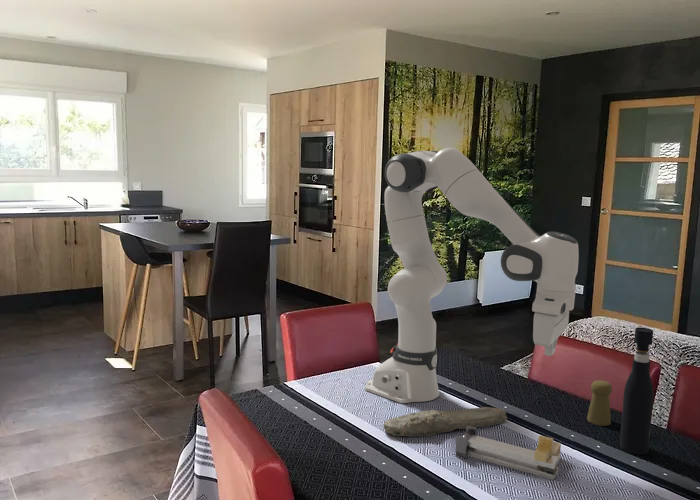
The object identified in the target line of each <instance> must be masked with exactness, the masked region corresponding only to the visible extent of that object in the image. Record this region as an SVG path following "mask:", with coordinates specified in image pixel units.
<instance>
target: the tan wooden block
mask: <svg viewBox="0 0 700 500" xmlns="http://www.w3.org/2000/svg"><path fill="white" fill-rule="evenodd" d="M561 446H562V443H561V442H558V441H554V440H553V452H552V455H553V456H557V457H559V459H560V458H561Z"/></svg>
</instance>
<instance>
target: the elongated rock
mask: <svg viewBox="0 0 700 500" xmlns="http://www.w3.org/2000/svg"><path fill="white" fill-rule="evenodd" d="M506 411H507V410H506V409H503V408H499V407H497V408H496V407H488V406H484V407H476V408H473V407H472V408H462V409H461V408H460V409H453V410H439V411H438V410H436V409H431V410H429V409H428V410H421V411H417V412H410V413H408V414H403V415H400V416H396V417H393V418H388V419H387V420H385V421H384V423H383V429H384V431H385V433H387V434H390V435H392V436H394V437H421V436H427V437H430V436H435V435H437V434H440V433H441V434H442V433H443V434H444V433H447V432H448V433H449V432H453V431H455V430H463V429H464V430H466V427H467V426H471V427H475V428H483V427H494V426H495V425H501V424H503V423H504V422H507V420H508V416H507V413H506Z"/></svg>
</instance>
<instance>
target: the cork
mask: <svg viewBox="0 0 700 500" xmlns="http://www.w3.org/2000/svg"><path fill="white" fill-rule="evenodd" d="M590 388H591V390H590V391H591V392H592V393H591V395H592V396H591V398H590V399H591V400H590V402H589V403H590V404H589V408H588V412H587V416H586V420H587V422H589V423H591V424H593V425H597V426H600V427H601V426H603V427H605V426H610V425H611V424H612V419H611V418H612V416H611V404H610V402H611V401H610V395H611V394H612V391H613V388H612V384H611V383H610V382H608V381H605V380H600V379H598V380H593V381H592V383H591V385H590Z"/></svg>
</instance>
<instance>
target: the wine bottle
mask: <svg viewBox="0 0 700 500" xmlns="http://www.w3.org/2000/svg"><path fill="white" fill-rule="evenodd" d="M653 339H654V330H653V329H652V328H648V327H636V328H634V340H633V341H634V343H635V344H636V351H635V352H634V354H633V355H634V356H633V359H632V364H631V365H632V366H631V372H630V373H629V376H627V377H628V378H627V379H626V382H625V386H624V389H623V398H622V399H623V403H622V411H621V412H622V413H621V414H622V415H621V424H620V425H621V426H620V437H619V447H620V448H621V450H623V451H624V452H627V453H629V454H633V455H645V454H648V453H649V451H650V450H649V449H650V439H651V429H652V418H653V417H652V416H653V406H654V397H655V393H654V385H653V382H652V378H651V374H650V372H651V371H650V370H651V361H650V360H651V359H650V358H651V356H650V353H649V352H650V351H649V348H650V347H649V346H651V345H653Z"/></svg>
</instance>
